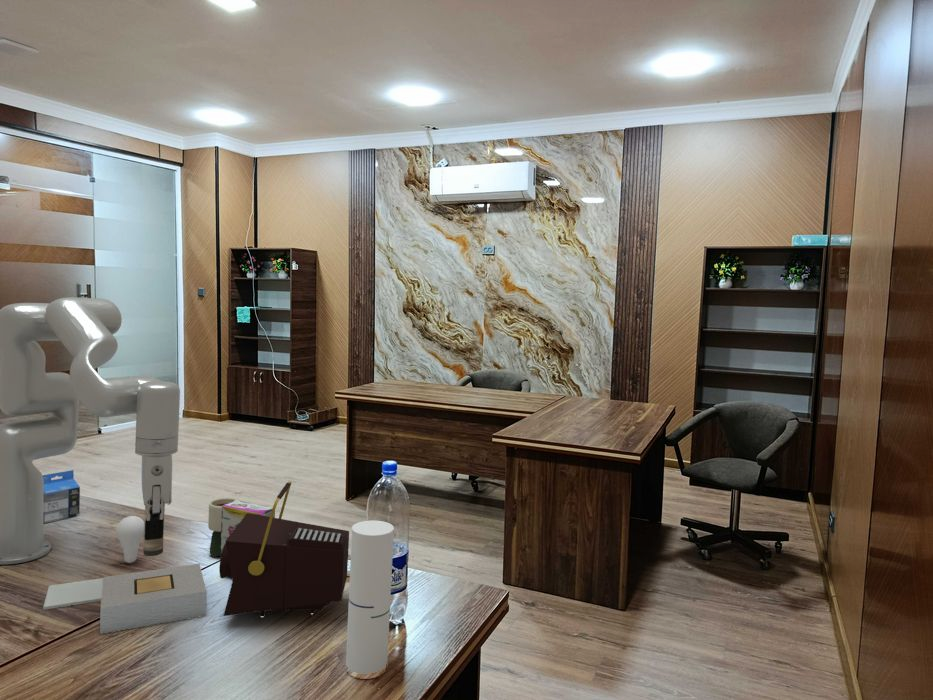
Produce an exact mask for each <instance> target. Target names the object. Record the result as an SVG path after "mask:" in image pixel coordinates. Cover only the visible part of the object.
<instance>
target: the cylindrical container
mask: <svg viewBox="0 0 933 700" xmlns="http://www.w3.org/2000/svg"><path fill="white" fill-rule="evenodd" d="M394 530H395V528H394V525H393V524H391V523H390V522H386V521H382V520H363V521H359V522H356V523H355V524H353V525H352V526H351V543H350V563H349V564H350V565H349V585H348V587H349V588H348V609H347V613H348V615H347V629H346V630H347V631H346V633H347V634H346V655H345V657H346V658H345V667H346V666H347V667H348V669H349V670H351V671H353V672H356V673H359V674H370V673H375V672H378V671H380V670H382V669H383V668H384V667H385V666H386V664H387V665H388V657H389V655H388V654H389V637H390V636H389V634H390V633H389V632H390V617H391V616H390V614H391V613H390V612H391V596H392V594H391V593H392V574H393V572H392V571H393V555H394V554H393V552H394V535H395V533H394V532H395V531H394Z"/></svg>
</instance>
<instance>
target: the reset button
mask: <svg viewBox="0 0 933 700" xmlns="http://www.w3.org/2000/svg"><path fill="white" fill-rule="evenodd" d="M168 589H172V587H171V580H170V576H165V577H158V578H151V579H144V580H137V594H142V593H149V592H155V591H162V590H168Z"/></svg>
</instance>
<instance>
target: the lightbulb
mask: <svg viewBox="0 0 933 700" xmlns="http://www.w3.org/2000/svg"><path fill="white" fill-rule="evenodd" d="M144 522H145V520H143V519H142V517H139V516H136V515H130V516H126V517H124V518H122V519H121V520H120V521H119V522H118V524H117V526H116V529H115V535H116V537H117V540H118V541H119V542H120V544H121V546H122V553H123V559H124V562H125V563H128V564H133V563H134V562H135V561H137V559H138V557H137V556H138V552H139V546H140V543H141V541H142V539H143V538H144Z"/></svg>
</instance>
